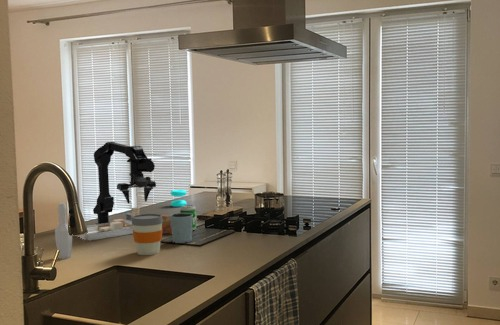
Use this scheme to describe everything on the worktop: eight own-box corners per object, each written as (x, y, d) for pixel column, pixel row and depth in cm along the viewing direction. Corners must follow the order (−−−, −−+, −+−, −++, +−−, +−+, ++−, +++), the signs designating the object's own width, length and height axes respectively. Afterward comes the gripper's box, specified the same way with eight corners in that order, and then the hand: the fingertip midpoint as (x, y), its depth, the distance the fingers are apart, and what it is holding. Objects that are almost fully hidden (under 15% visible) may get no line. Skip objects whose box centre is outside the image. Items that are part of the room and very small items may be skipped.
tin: (151, 232, 261) (150, 215, 260) (155, 230, 264) (154, 214, 263) (176, 234, 254) (176, 217, 253) (180, 233, 257) (180, 215, 256)
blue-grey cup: (184, 237, 246) (183, 211, 245) (198, 240, 239) (197, 214, 238) (166, 241, 239) (165, 215, 238) (180, 244, 232) (179, 217, 231)
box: (72, 235, 258) (72, 226, 258) (97, 231, 266) (97, 223, 265) (84, 240, 246) (83, 231, 246) (109, 235, 254) (109, 227, 254)
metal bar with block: (124, 219, 277) (124, 206, 277) (130, 219, 279) (129, 205, 278) (142, 225, 261) (142, 210, 261) (148, 224, 263) (147, 209, 263)
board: (99, 231, 265) (99, 227, 265) (127, 227, 274) (127, 223, 274) (110, 235, 255) (109, 231, 255) (138, 230, 264) (138, 226, 264)
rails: (72, 233, 261) (72, 227, 261) (130, 225, 280) (130, 219, 280) (88, 240, 244) (88, 234, 244) (149, 230, 263) (149, 224, 263)
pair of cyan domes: (167, 191, 338) (177, 189, 346) (167, 206, 339) (177, 204, 347) (179, 191, 333) (189, 189, 341) (180, 207, 334) (190, 205, 342)
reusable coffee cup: (129, 251, 222) (127, 215, 221) (157, 247, 228) (156, 212, 227) (138, 257, 211) (136, 220, 210) (168, 253, 218) (167, 216, 216)
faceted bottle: (53, 257, 214) (50, 203, 213) (67, 254, 219) (65, 201, 217) (61, 260, 210) (58, 204, 208) (76, 257, 215) (73, 202, 213)
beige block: (110, 228, 261) (110, 222, 261) (118, 227, 264) (118, 221, 264) (114, 230, 257) (113, 223, 257) (122, 228, 260) (122, 222, 260)
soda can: (184, 232, 258) (183, 207, 257) (178, 229, 265) (178, 205, 264) (198, 230, 262) (197, 206, 261) (193, 228, 268) (192, 204, 267)
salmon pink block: (112, 225, 268) (112, 220, 268) (121, 224, 271) (121, 218, 271) (116, 227, 265) (116, 221, 264) (125, 225, 267) (124, 220, 267)
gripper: (125, 173, 254) (126, 206, 255) (160, 171, 265) (161, 202, 266) (115, 172, 263) (117, 203, 264) (150, 169, 274) (151, 199, 275)
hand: (137, 202), depth 267 cm, fingers open, 9 cm apart
